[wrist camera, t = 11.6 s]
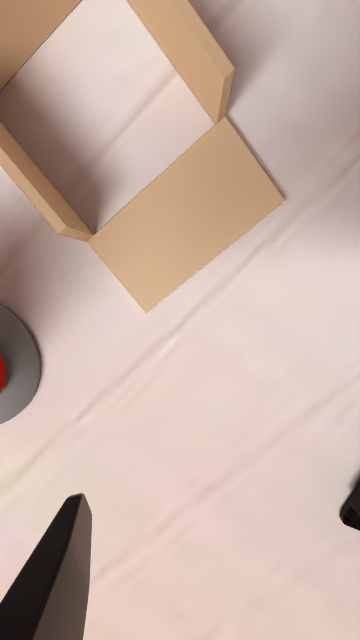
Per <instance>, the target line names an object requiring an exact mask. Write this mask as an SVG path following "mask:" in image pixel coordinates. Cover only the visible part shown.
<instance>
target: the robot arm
mask: <svg viewBox="0 0 360 640" xmlns="http://www.w3.org/2000/svg"><path fill="white" fill-rule="evenodd" d="M339 517H340V518H341V520H342V522H343V523H344V524H345V525H347V526H350V527H352V528H354V529H357V530H359V531H360V483H359V485H358V486H357V488H356V489H355V491H354V492H353V494H352V495H351V497H350V498H349V500H348V501H347V503H346V504H345V506H344V507H343V509H342V510H341V512H340V514H339ZM91 532H92V514H91V510H90V507H89V505H88V502H87V500H86V497H85V495H84V494H83V493H79V494H75V495H71V496H69V497H68V498H67V499H66V500H65V502H64V504H63V505H62V507H61V508H60V510H59V511H58V513H57V515H56V516H55V518H54V519H53V521H52V522H51V524H50V526H49V527H48V529H47V530H46V532H45V533H44V535H43V537H42V538H41V540H40V541H39V543H38V544H37V546H36V548H35V549H34V551H33V552H32V554H31V555H30V557H29V559H28V560H27V562H26V563H25V565H24V566H23V568H22V570H21V571H20V573H19V574H18V576H17V577H16V579H15V581H14V582H13V584H12V585H11V587H10V588H9V590H8V592H7V593H6V595H5V596H4V598H3V600H2V601H1V603H0V640H83V634H84V626H85V619H86V611H87V603H88V594H89V582H90V558H91Z"/></svg>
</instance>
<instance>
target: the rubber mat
mask: <svg viewBox="0 0 360 640" xmlns="http://www.w3.org/2000/svg"><path fill="white" fill-rule="evenodd" d="M0 352H1V355H2V358H3V361H4V364H5V367H6V380H5V386H4V388H3V390H2V392H1V393H0V424H2V423H4V422H6V421H8V420H10V419H12V418H13V417H15V416H16V415H17V414H19V413H20V412H21V411H22V410H23V409H24V408H25V407H26V406H27V405H28V404H29V403H30V402H31V400H32V398H33V397H34V395H35V393H36V390H37V388H38V385H39V381H40V373H41V367H40V358H39V353H38V349H37V346H36V344H35V341H34V339H33V337H32V335H31V334H30V332H29V330H28V329H27V327H26V326H25V325H24V323H23V322H22V321H21V320H20V319H19V318H18V317H17V316H16V315H15V314H14V313H13V312H12V311H10V310H9V309H8V308H6V307H5V306H3V305H2V304H0Z"/></svg>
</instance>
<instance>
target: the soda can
mask: <svg viewBox="0 0 360 640" xmlns="http://www.w3.org/2000/svg"><path fill="white" fill-rule="evenodd" d="M5 380H6V367H5V364H4V361H3V358H2V355H1V352H0V393H1V392H2V390H3V388H4V386H5Z"/></svg>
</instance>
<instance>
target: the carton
mask: <svg viewBox="0 0 360 640" xmlns="http://www.w3.org/2000/svg"><path fill="white" fill-rule="evenodd" d="M80 1H81V0H0V90H1V89H2V88H3V86H4V85H5V84H6V83H7V82H8V81H9V80H10V79H11V78H12V76H13V75H14V74H15V73H16V72H17V71H18V70H19V69H20V68H21V67H22V65H23V64H24V63H25V62H26V61H27V60H28V59H29V58H30V57H31V55H32V54H33V53H34V52H35V51H36V50H37V49H38V48H39V47H40V45H41V44H42V43H43V42H44V41H45V40H46V39H47V38H48V37H49V36H50V34H51V33H52V32H53V31H54V30H55V29H56V28H57V27H58V26H59V24H60V23H61V22H62V21H63V20H64V19H65V18H66V17H67V16H68V15H69V13H70V12H71V11H72V10H73V9H74V8H75V7H76V6H77V5H78V3H79V2H80ZM126 1H127V2H128V3H129V5H130V6H131V7H132V9H133V10H134V12H135V13H136V14H137V16H138V17H139V19H140V20H141V21H142V23H143V24H144V26H145V27H146V28H147V30H148V31H149V33H150V34H151V35H152V37H153V38H154V40H155V41H156V42H157V44H158V45H159V47H160V48H161V49H162V51H163V52H164V54H165V55H166V56H167V58H168V59H169V60H170V62H171V63H172V65H173V66H174V67H175V69H176V70H177V72H178V73H179V74H180V76H181V77H182V79H183V80H184V81H185V83H186V84H187V86H188V87H189V88H190V90H191V91H192V93H193V94H194V95H195V97H196V98H197V100H198V101H199V102H200V104H201V105H202V107H203V108H204V109H205V111H206V112H207V113H208V115H209V116H210V118H211V119H212V120H213V122H214V123H215V126H214V127H213V128H211V129H210V130H209V131H208V132H207V133H206V134H205V135H204V136H203V137H202V138H200V139H199V140H198V141H197V142H196V143H195V144H194V145H193V146H192V147H191V148H189V149H188V150H187V151H186V152H185V153H184V154H183V155H182V156H181V157H180V158H178V159H177V160H176V161H175V162H174V163H173V164H172V165H171V166H170V167H169V168H167V169H166V170H165V171H164V172H163V173H162V174H161V175H160V176H159V177H158V178H156V179H155V180H154V181H153V182H152V183H151V184H150V185H149V186H148V187H146V188H145V189H144V190H143V191H142V192H141V193H140V194H139V195H138V196H137V197H135V198H134V199H133V200H132V201H131V202H130V203H129V204H128V205H127V206H126V207H124V208H123V209H122V210H121V211H120V212H119V213H118V214H117V215H116V216H115V217H113V218H112V219H111V220H110V221H109V222H108V223H107V224H106V225H105V226H104V227H102V228H101V229H100V230H99V231H98V232H97V233H96V234H95V235H94V234H93V233H92V232H91V231H90V230H89V228H88V227H87V226H86V225H85V223H84V222H83V221H82V220H81V219H80V217H79V216H78V215H77V214H76V213H75V211H74V210H73V209H72V208H71V206H70V205H69V204H68V203H67V202H66V200H65V199H64V198H63V197H62V196H61V194H60V193H59V192H58V191H57V190H56V188H55V187H54V186H53V185H52V183H51V182H50V181H49V180H48V179H47V177H46V176H45V175H44V174H43V173H42V171H41V170H40V169H39V168H38V166H37V165H36V164H35V163H34V162H33V160H32V159H31V158H30V157H29V156H28V154H27V153H26V152H25V151H24V149H23V148H22V147H21V146H20V145H19V143H18V142H17V141H16V140H15V139H14V137H13V136H12V135H11V134H10V132H9V131H8V130H7V129H6V128H5V126H4V125H3V124H2V123H1V122H0V166H1V167H2V168H3V169H4V171H5V172H6V173H7V174H8V175H9V177H10V178H11V179H12V180H13V181H14V182H15V184H16V185H17V186H18V187H19V188H20V190H21V191H22V192H23V193H24V194H25V196H26V197H27V198H28V199H29V200H30V201H31V203H32V204H33V205H34V206H35V207H36V209H37V210H38V211H39V212H40V213H41V215H42V216H43V217H44V218H45V219H46V220H47V222H48V223H49V224H50V225H51V226H52V228H53V229H54V230H55V231H56V232H57V233H58V234H59V235H63V236H67V237H70V238H74V239H78V240H82V241H85V242H87V243H88V244H89V245H90V246H91V248H92V249H93V250H94V251H95V252H96V254H97V255H98V256H99V257H100V258H101V260H102V261H103V262H104V263H105V264H106V266H107V267H108V268H109V269H110V270H111V272H112V273H113V274H114V275H115V277H116V278H117V279H118V280H119V281H120V283H121V284H122V285H123V286H124V287H125V289H126V290H127V291H128V292H129V293H130V295H131V296H132V297H133V298H134V299H135V301H136V302H137V303H138V304H139V305H140V307H141V308H142V309H143V310H144V311H145V313H147V312H148V311H149V310H151V309H152V308H153V307H154V306H156V305H157V304H158V303H159V302H161V301H162V300H163V299H164V298H165V297H167V296H168V295H169V294H170V293H172V292H173V291H174V290H175V289H177V288H178V287H179V286H180V285H181V284H183V283H184V282H185V281H186V280H188V279H189V278H190V277H191V276H193V275H194V274H195V273H196V272H197V271H199V270H200V269H201V268H202V267H204V266H205V265H206V264H207V263H209V262H210V261H211V260H212V259H214V258H215V257H216V256H217V255H218V254H220V253H221V252H222V251H223V250H225V249H226V248H227V247H228V246H230V245H231V244H232V243H233V242H234V241H236V240H237V239H238V238H239V237H241V236H242V235H243V234H244V233H246V232H247V231H248V230H249V229H250V228H252V227H253V226H254V225H255V224H257V223H258V222H259V221H260V220H262V219H263V218H264V217H265V216H266V215H268V214H269V213H270V212H271V211H273V210H274V209H275V208H276V207H278V206H279V205H280V204H281V203H283V202H284V201H285V200H284V198H283V197H282V195H281V194H280V193H279V191H278V190H277V188H276V187H275V186H274V184H273V183H272V181H271V180H270V178H269V177H268V176H267V174H266V173H265V171H264V170H263V169H262V167H261V166H260V164H259V163H258V162H257V160H256V159H255V157H254V156H253V154H252V153H251V152H250V150H249V149H248V147H247V146H246V145H245V143H244V142H243V140H242V139H241V138H240V136H239V135H238V133H237V132H236V130H235V129H234V128H233V126H232V125H231V123H230V122H229V121H228V119H227V118H226V116H225V115H226V110H227V105H228V100H229V96H230V91H231V86H232V81H233V76H234V72H235V68H234V66H233V65H232V64H231V62H230V61H229V59H228V58H227V56H226V55H225V53H224V52H223V50H222V49H221V48H220V46H219V45H218V43H217V42H216V40H215V39H214V37H213V36H212V34H211V33H210V32H209V30H208V29H207V27H206V26H205V24H204V23H203V21H202V20H201V18H200V17H199V16H198V14H197V13H196V11H195V10H194V8H193V7H192V5H191V4H190V2H189V1H188V0H126Z"/></svg>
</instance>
